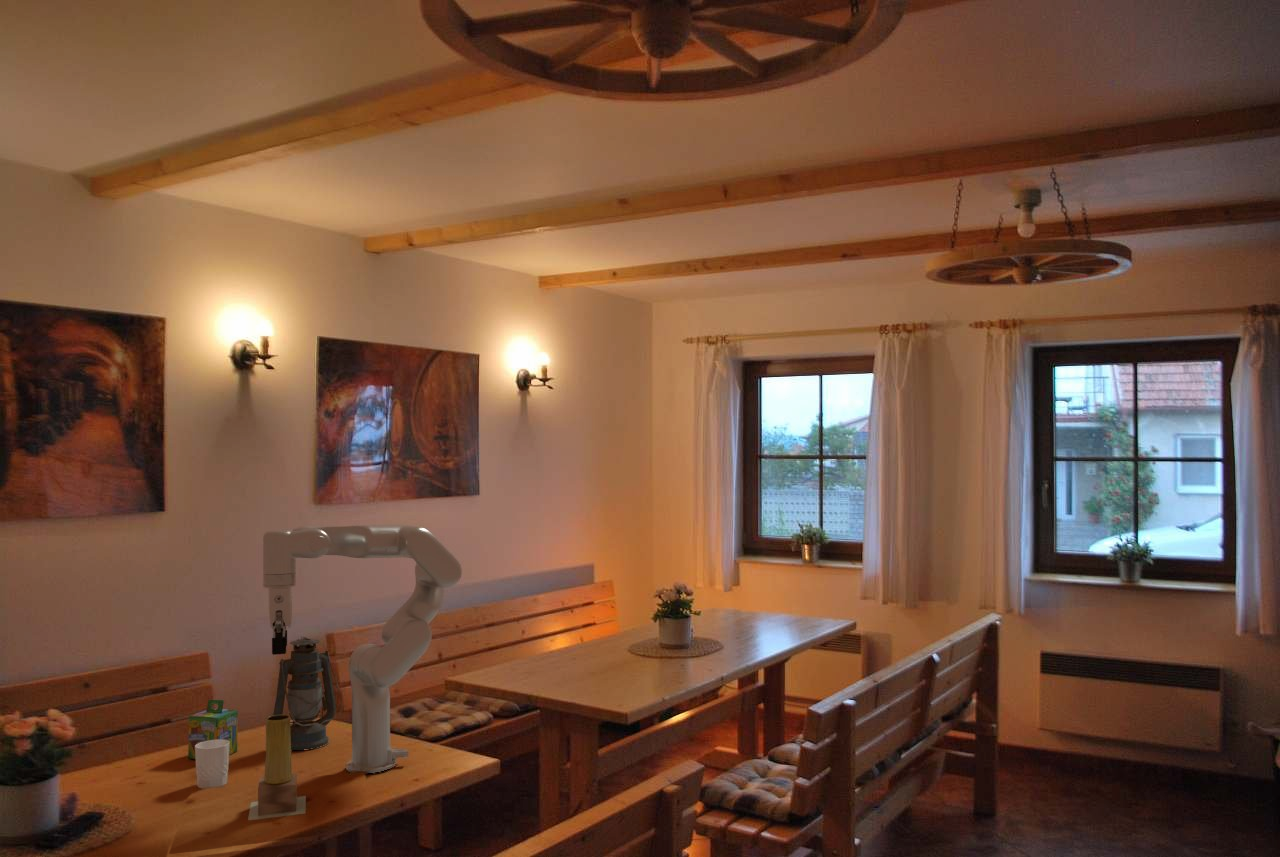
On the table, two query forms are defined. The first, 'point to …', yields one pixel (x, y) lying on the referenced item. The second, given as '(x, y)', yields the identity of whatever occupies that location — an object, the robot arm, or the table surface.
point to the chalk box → (213, 727)
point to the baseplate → (299, 810)
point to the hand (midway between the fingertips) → (279, 650)
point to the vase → (278, 750)
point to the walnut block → (277, 797)
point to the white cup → (212, 763)
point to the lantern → (306, 694)
